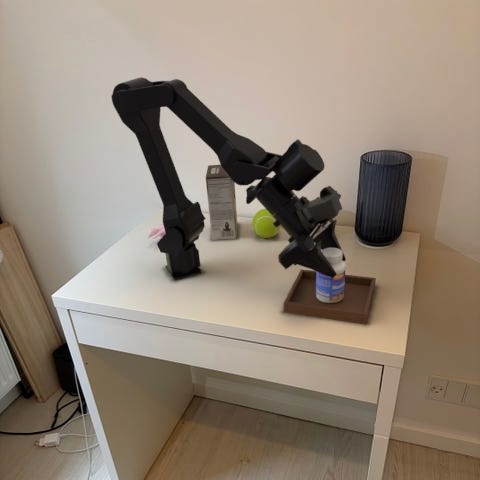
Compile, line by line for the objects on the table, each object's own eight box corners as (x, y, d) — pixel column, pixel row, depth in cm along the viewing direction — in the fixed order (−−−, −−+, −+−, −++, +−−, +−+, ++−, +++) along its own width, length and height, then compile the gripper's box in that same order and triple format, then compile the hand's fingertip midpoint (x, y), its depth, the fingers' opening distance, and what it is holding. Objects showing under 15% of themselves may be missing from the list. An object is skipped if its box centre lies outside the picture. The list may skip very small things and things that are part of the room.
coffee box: (213, 225, 128) (207, 164, 119) (237, 224, 128) (233, 163, 119) (211, 240, 121) (205, 176, 111) (237, 239, 120) (232, 175, 111)
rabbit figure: (177, 228, 131) (141, 242, 119) (176, 206, 128) (139, 218, 117) (196, 232, 128) (161, 247, 117) (196, 209, 126) (159, 222, 114)
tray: (283, 312, 93) (283, 302, 92) (300, 277, 103) (300, 269, 102) (365, 324, 88) (366, 314, 87) (375, 286, 98) (376, 277, 97)
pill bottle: (335, 307, 92) (338, 261, 87) (310, 299, 95) (311, 254, 89) (348, 294, 96) (351, 249, 90) (324, 286, 98) (326, 243, 93)
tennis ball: (253, 230, 124) (252, 204, 120) (281, 230, 123) (280, 203, 119) (252, 242, 118) (250, 215, 114) (280, 242, 117) (280, 215, 113)
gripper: (295, 197, 77) (359, 269, 79) (330, 161, 90) (384, 224, 92) (252, 235, 84) (311, 301, 86) (291, 197, 98) (341, 255, 100)
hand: (339, 268), depth 91 cm, fingers open, 6 cm apart
